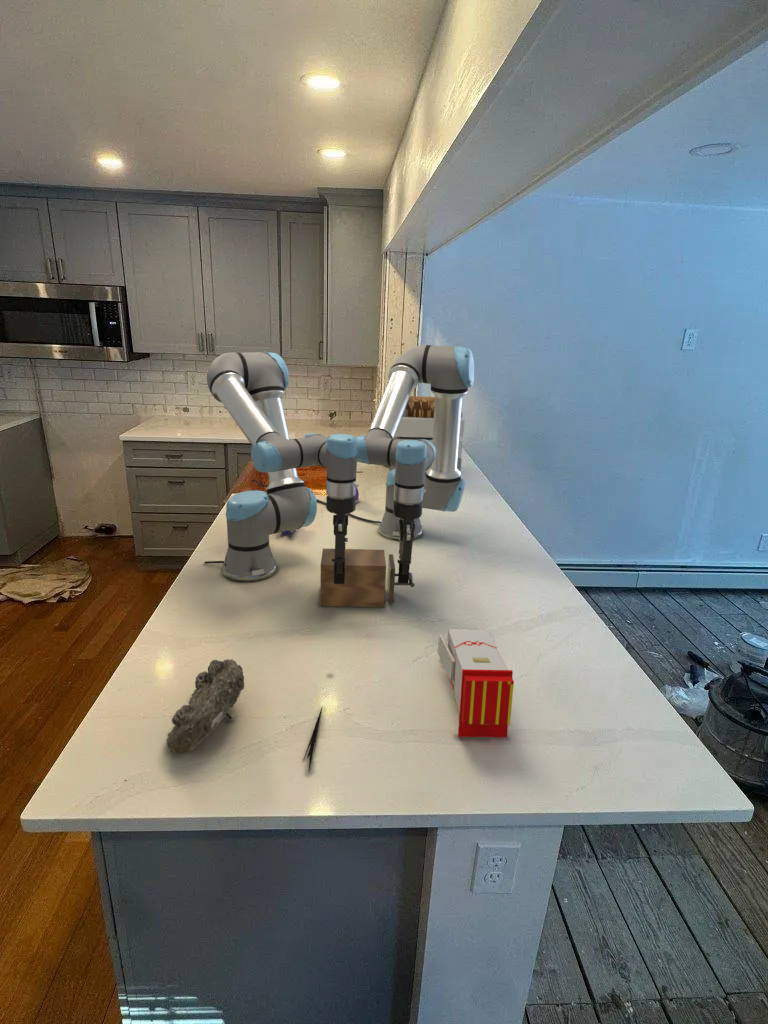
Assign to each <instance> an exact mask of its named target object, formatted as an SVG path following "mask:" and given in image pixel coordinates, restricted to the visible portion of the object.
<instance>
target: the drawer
mask: <svg viewBox="0 0 768 1024" xmlns="http://www.w3.org/2000/svg"><path fill="white" fill-rule="evenodd" d="M387 561H388V562H387V581H386V589H387V596H388V597H387V599H388V603H390V604H391V603H392V604H393V603H394V599H395V586H407V587H411V588H414V587H415V586H416V585H415V584H416V583H415V580H414V575H413V573H412V572H411V571H409V581H408V583H399V582H398V581H397V582H396V577H398V573H396V565H395V558H394V554H393V553H392V554H391V553H388V559H387Z"/></svg>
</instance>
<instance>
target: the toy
mask: <svg viewBox="0 0 768 1024" xmlns="http://www.w3.org/2000/svg"><path fill="white" fill-rule="evenodd" d="M446 640H447V643H446V641H445V639H444V636H443V635H442V634H439V637H438V646H437V656H438V657H439V659H440V661H441V663H442V666H443V668H444V670H445V672H446V674H447V677H448V679H449V681H450V684H451V687H452V690H453V693H454V697H455V701H456V705H457V708H458V711H459V714H458V715H459V716H458V730H457V731H458V732H457V737H458V738H508V731H509V726H510V725H511V717H512V707H513V697H514V696H513V695H514V684H515V680H514V679H513V673H514V671H513V670H512V669H508V667H507V665H506V662H505V661H504V659H503V658H502V655H501V653H500V651H499V649H498V647H497V643H496V639H495V637H494V635H493V634H491V632H490V631H489V629H467V628H466V629H465V628H463V629H461V628H460V629H459V628H448V630H447V639H446Z"/></svg>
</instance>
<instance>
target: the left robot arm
mask: <svg viewBox="0 0 768 1024" xmlns="http://www.w3.org/2000/svg"><path fill="white" fill-rule="evenodd" d="M289 374H290V373H289V369H288V367H287V363H286V362H285V360H284V359H283V357H282V356H281V355H279V354H278V353H276V352H268V351H253V352H252V351H247V352H235V351H233V352H231V351H230V352H225V353H222V354H221V355H219V356H217V357H216V358H215V359H214V360H212V362H211V364H210V365H209V367H208V370H207V373H206V383H207V388H208V390H209V392H210V394H211V396H212V397H213V398H214V400H216V401H217V402H219V403H222V405H223V406H224V407H225V409H226V410H227V412H228V413H229V414H230V416H231V417H232V419H233V421H234V422H235V423H236V424H237V426H238V427H239V429H240V431H241V432H242V433H243V435H244V436H245V438H246V439H247V441H248V442H249V444H250V445H251V451H250V457H251V462H252V465H253V468H254V469H255V470H256V471H257V472H259V473H267V477H268V481H269V483H268V484H267V485H268V487H266V489H265V491H263V490H260V489H259V490H258V489H254V490H251V489H250V490H245V491H241V492H237V493H235V494H233V495H232V496H230V498H229V499H228V500H227V501H226V506H225V508H226V509H225V518H226V530H227V531H226V532H227V550H226V554H225V556H224V560H207V561H206V560H205V561H204V562H203V563H204V565H208V564H222V573H223V576H224V577H225V578H227V579H229V580H232V581H234V582H235V581H236V582H246V583H248V582H258V581H262V580H265V579H268V578H269V577H271V576H273V575H274V574H275V573H276V571H277V562H276V559H275V558H274V556H273V552H272V549H271V546H270V536H271V535H274V534H281V532H285V531H290V530H294V529H295V530H301V529H302V528H305V527H309V526H310V525H312V524H313V523H314V521H315V519H316V516H317V513H318V501H316V499H317V497H316V493H314V491H313V490H312V489H311V488H309V487H306V484H305V481H304V480H303V479H301V478H300V477H299V475H298V471H297V469H300V468H301V469H302V468H307V467H314V466H319V467H322V468H324V469H326V480H325V488H326V489H325V494H326V495H327V496H326V498H325V501H326V502H325V503H326V505H325V508H326V511H327V512H328V513H331V514H333V517H332V525H333V535H334V549H335V558H334V559H332V562H334V584H344V583H345V558H344V556H345V549H346V545H347V543H348V542H349V538H348V537H346V536H347V535H348V525H349V515H348V514H347V513H350V514H353V512H355V511H356V504H357V503H356V497H355V496H354V495H355V494H356V488H355V487H357V488H359V483H358V482H357V468H358V466H357V465H358V462H357V454H358V452H357V440H356V437H355V436H354V435H352V434H346V433H334V434H330V435H328V436H326V435H323V434H320V433H315V432H311V433H310V432H309V433H307V434H305V435H304V436H303V437H298V438H290V435H289V430H288V429H289V428H288V425H287V420H286V416H285V411H284V407H283V403H282V402H283V401H282V399H283V398H284V396H285V395H286V393H285V390H287V388H288V386H289V383H290V381H289V379H290V375H289Z"/></svg>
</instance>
